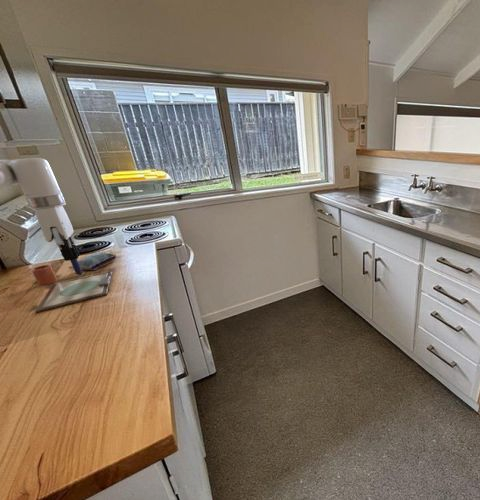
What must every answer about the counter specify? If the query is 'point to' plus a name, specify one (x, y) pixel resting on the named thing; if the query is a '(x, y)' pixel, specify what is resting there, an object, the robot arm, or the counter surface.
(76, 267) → the pen
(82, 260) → the packaged food
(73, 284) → the clipboard
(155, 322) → the counter surface
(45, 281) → the pen cup
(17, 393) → the counter surface
